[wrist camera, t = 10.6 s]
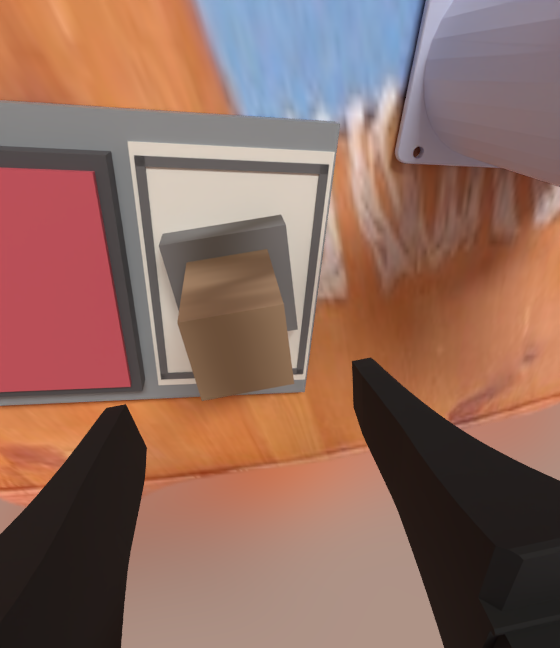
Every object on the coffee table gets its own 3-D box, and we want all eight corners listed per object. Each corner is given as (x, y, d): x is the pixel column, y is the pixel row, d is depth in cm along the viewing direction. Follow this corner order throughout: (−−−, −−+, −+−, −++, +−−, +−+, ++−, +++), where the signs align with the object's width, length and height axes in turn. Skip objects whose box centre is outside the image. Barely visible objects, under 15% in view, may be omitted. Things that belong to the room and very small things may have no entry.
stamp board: (334, 121, 17) (348, 127, 15) (301, 381, 25) (308, 406, 23) (-133, 91, 15) (-186, 94, 13) (-5, 393, 23) (-25, 423, 21)
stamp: (281, 214, 18) (309, 274, 13) (292, 314, 21) (319, 397, 16) (162, 233, 18) (139, 303, 12) (191, 332, 21) (183, 422, 15)
